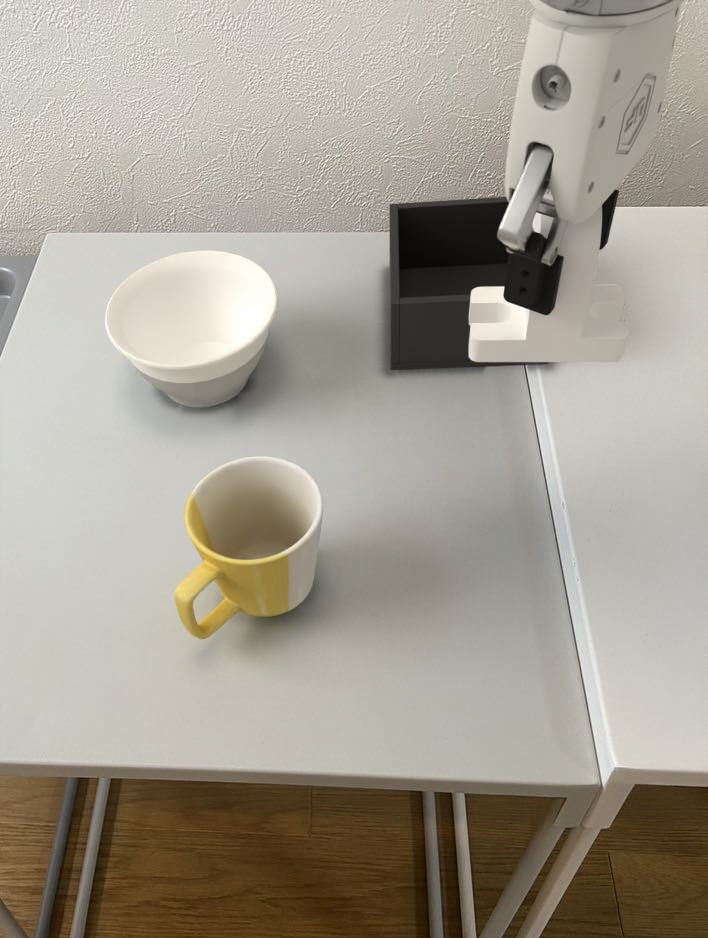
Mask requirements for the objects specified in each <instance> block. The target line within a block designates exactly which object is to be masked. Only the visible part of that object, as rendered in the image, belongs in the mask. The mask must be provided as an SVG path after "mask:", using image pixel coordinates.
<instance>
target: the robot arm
mask: <svg viewBox="0 0 708 938" xmlns="http://www.w3.org/2000/svg"><path fill="white" fill-rule="evenodd" d="M683 2H685V0H528V3H529V4H530V5H531V7H532V8H533V9H534V10H533V13H532V16H531V20H530V24H529V29H528V33H527V37H526V42H525V47H524V51H523V56H522V62H521V66H520V72H519V77H518V83H517V88H516V93H515V98H514V105H513V111H512V117H511V122H510V123H511V124H510V129H509V137H508V144H507V152H506V161H505V172H504V173H505V174H504V193H505V197H506V198H507V200H508V202H509V205H508V207H507V210H506V212H505V214H504V217H503V219H502V221H501V224H500V226H499V229H498V232H497V238H498V239H499V240H500V241H501V242H502V243H503V244H505V247H506V251H507V252H509V255H508V263H507V270H506V278H505V286H504V294H503V297H504V299H505V300H506V301H507V302H509V303H512V304H515V305H517V306H520V307H523V308H526V309H529V310H531V311H534V312H537V313H540V314H543V315H549V314H550V313H551V312H552V311H553V309H554V308H555V303H556V298H557V292H558V287H559V281H560V276H561V270H562V265H563V260H564V257H563V256H560V255H559V254H558V252H559V249H560V246H561V243H562V240H563V237H564V234H565V231H566V228H567V225H568V222H569V221H570V223H572V224H578V223H581V222H583V221H585V220H586V219H588V218H589V217H590V216H592V215H593V214H594V213H595V212H596V211H597V210H598V209H599V207H600V206H601V205H602V228H601V240H600V248H599V251H602V250H603V249H604V248H605V247H606V246H607V244H608V242H609V238H610V235H611V234H610V233H611V229H612V225H613V220H614V216H615V211H616V207H617V202H618V198H619V194H620V190H619V189H617V188H618V187H619V186H620V185H621V183H622V182H623V181H624V179H625V178H626V177H627V176H628V175H629V174H630V172H631V171H632V170H633V169H634V168H635V166H636V165H637V164H638V162H639V161H640V160H641V159H642V157H643V156H644V155H645V154H646V153H647V151H648V149H649V148H650V146H651V144H652V143H653V141H654V138H655V136H656V133H657V128H658V124H659V122H660V121H659V120H660V116H661V111H662V107H663V102H664V97H665V93H666V88H667V87H666V86H667V81H668V77H669V71H670V66H671V61H672V56H673V51H674V46H675V41H676V36H677V35H676V34H677V29H678V23H679V16H680V11H681V4H682V3H683ZM547 190H550V192H551V193H550V194H552V197H553V200H549V199H546V198H543V196H544V194H546V192H547ZM536 212H537V213H540V214H543V215H546V216H549V217H553V221H552V225H551V228H550V231H549V234H548V237H547V239H546V238H545V237H544V236H543V235H542V234H541V233H537V232H535V231H534V229H533V227H532V224H533V220H534V217H535V214H536Z"/></svg>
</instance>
